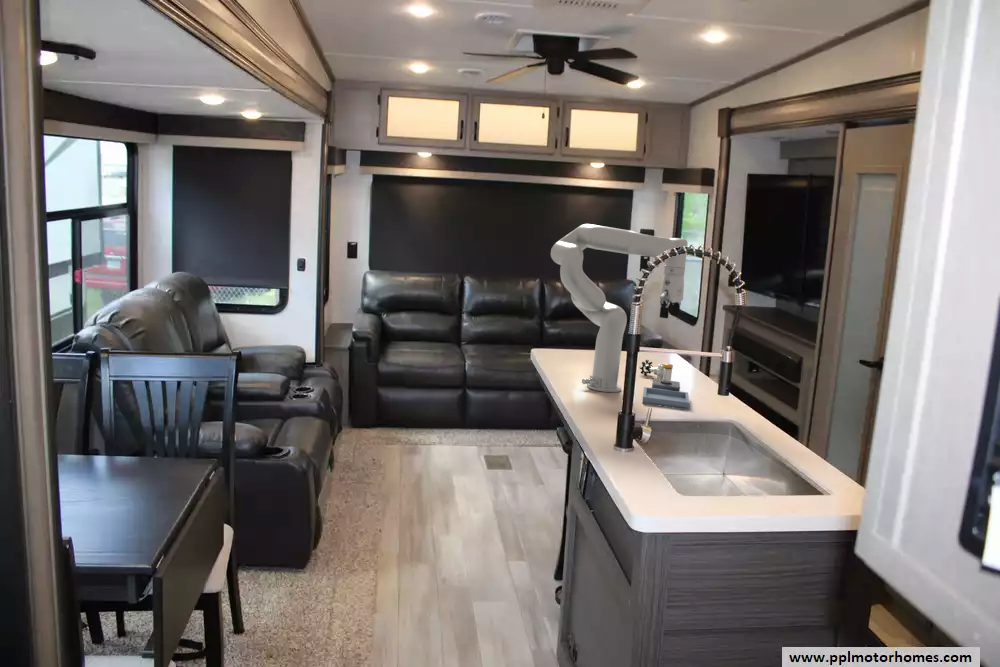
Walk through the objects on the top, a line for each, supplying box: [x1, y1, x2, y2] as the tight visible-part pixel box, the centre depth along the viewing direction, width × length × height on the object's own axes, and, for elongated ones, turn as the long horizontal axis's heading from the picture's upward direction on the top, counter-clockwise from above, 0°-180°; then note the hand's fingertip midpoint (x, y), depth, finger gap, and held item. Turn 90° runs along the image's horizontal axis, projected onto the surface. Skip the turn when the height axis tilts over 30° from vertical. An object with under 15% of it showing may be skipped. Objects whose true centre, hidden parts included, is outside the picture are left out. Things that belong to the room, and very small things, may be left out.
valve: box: [639, 359, 665, 380], centre depth 338 cm, size 7×7×12 cm
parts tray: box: [641, 386, 690, 410], centre depth 301 cm, size 16×16×2 cm
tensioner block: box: [651, 378, 681, 392], centre depth 315 cm, size 10×10×4 cm
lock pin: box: [662, 363, 674, 385], centre depth 315 cm, size 3×3×11 cm
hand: (669, 316), depth 315 cm, fingers open, 9 cm apart
